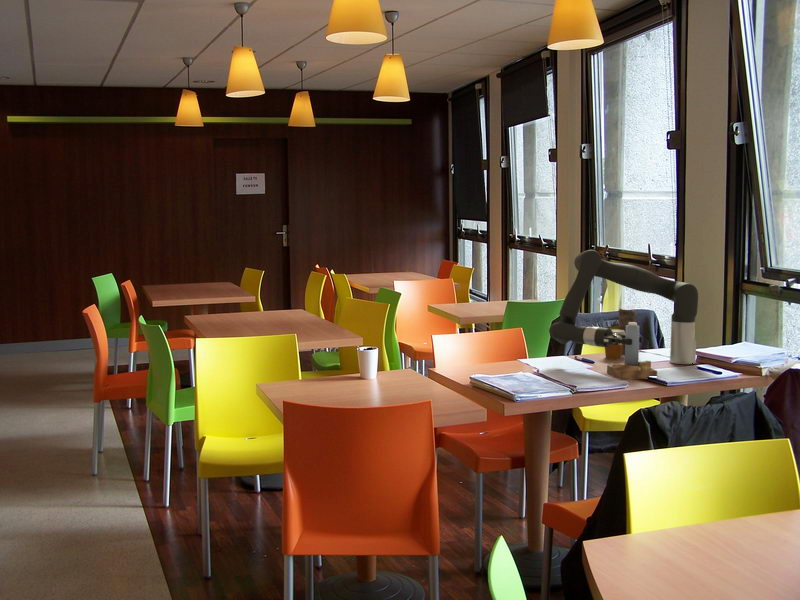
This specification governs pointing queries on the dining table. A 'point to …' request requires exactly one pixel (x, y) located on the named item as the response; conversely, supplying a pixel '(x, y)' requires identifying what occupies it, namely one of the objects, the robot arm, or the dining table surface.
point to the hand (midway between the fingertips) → (637, 340)
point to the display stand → (632, 370)
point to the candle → (626, 321)
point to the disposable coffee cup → (614, 347)
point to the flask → (633, 349)
